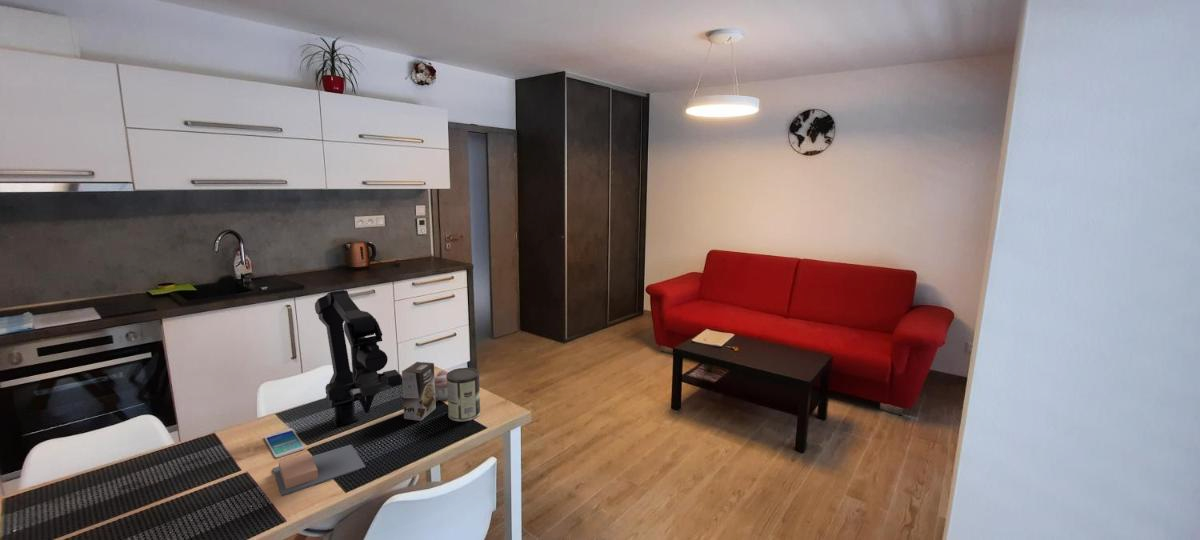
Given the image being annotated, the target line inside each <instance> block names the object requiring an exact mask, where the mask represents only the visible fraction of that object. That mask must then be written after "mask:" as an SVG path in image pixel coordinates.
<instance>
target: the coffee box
mask: <svg viewBox="0 0 1200 540" xmlns="http://www.w3.org/2000/svg"><path fill="white" fill-rule="evenodd" d="M401 376H402V384H401V385H402V398H403V399H402V401H403V402H402V404H403V418H404V419H405V420H413V421H419V422H421V421H423V420H424V419H425V418H427V416H428V415H430V414H431V413H433V411H435V410H436V408H437V407H436V399H435V379H434V377H435V363H433V362H428V361H427V362H424V361H423V362H422V361H416V362H415V363H413V364H412V365H410V366H408V367H406V368H405V369H404V370H402V371H401Z"/></svg>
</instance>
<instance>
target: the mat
mask: <svg viewBox="0 0 1200 540" xmlns="http://www.w3.org/2000/svg"><path fill="white" fill-rule="evenodd" d="M311 457H312V459H313V461H314V463H315V465H316V467H317V469H318V479H315V480H312V481H309V482H306V483H303V484H300V485H297V486H294V487H291V488H288V489H286V487H285V484H284V482H283V479H282V476H281V473H280V470H279V466H275V467H273V468H272V472H273V475H274V477H275V481H276V483H277V487H278V491H279V493H280V497H284V496H286V495H289V494H293V493H296V492H299V491H301V490H304V489H307V488H308V489H309V488H310V487H314V486H317V485H319V484H322V483H325V482H328V481H331V480H334V479H336V478H340V477H343V476H345V475H349V474H352V473H354V472H357V471H361V470H363V468H364V469H366V467H367V466H366V464H365V462H363V460H362V458H361V457H360V456H359V454H358V452H357V450H356V449H355V447H354V446H353V445H352V444H348V445H344V446H342V447H338V448H335V449H331V450H329V451H325V452H322V453H318V454H316V455H311ZM360 469H361V470H360Z"/></svg>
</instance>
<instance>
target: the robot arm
mask: <svg viewBox="0 0 1200 540" xmlns="http://www.w3.org/2000/svg"><path fill="white" fill-rule="evenodd" d="M349 294H350V293H349V291H348V290H344V289H341V290H339V289H338V290H333V291H330V292H328V293H326V295H324V296H322V297H319V298H317V300H316V302H315V303H314V311H315V313H316V315H317V316H318V319H319V321H320V322H321V323H322V324H323V325H324V326H325V327H326V328H325V329H326V334H327V340H328V345H329V352H330V357H331V366H332V370H333V374H332V376H331V378H330V380H329V383H326V386H325V387H324V388H325V394H326V396H325V398H326V403H327V405H328V406H329V407H330V408H331V409H333V412H334V416H332V417H331V420H332V422H333V423H334V425H335V426H336V427H340V426H344V425H349V424H352V423H355V422H358V421H360V419H359V416H357V414H356V406H355V402H358V401H359V402H360V404H361V407H362V409H363V411H364V413H365V414H367V413H370V410H371V407H372V404H373V401H374V398H375V397H376V395H377V394H380V393H381V392H382V388H385V387H386V386H390V387H393V388H394V387H396V386H400V385H403V384H402V374H400V372H399V371H398V370H397V369H391V370H386V371H382V372H381V373H379V371H381V370H383V369H384V368H385V367H386V365H387V364H388V361H389V360H388V355H387V353H386V352H385V351H384V350H382V349H380V345H378V343H381V342H383V332H382V329H381V326H380V325H379V322H378V321H377V319H376V318H375V317H374V316H373V315H372V313H370V312H368V311H365V310H360V308H359V307H358V306H357V304H356V303H355V302H354V300H353V299H352V298H351V297H350V295H349ZM346 339H347V341H348V343H349V346H350V357H351V358H350V359H351V366H350V360H349V355H348V348H347V341H346ZM351 369H352V370H351Z"/></svg>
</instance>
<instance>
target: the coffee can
mask: <svg viewBox="0 0 1200 540" xmlns="http://www.w3.org/2000/svg"><path fill="white" fill-rule="evenodd" d="M480 373H481V372H480V371H479V370H478V369H477V368H474V367H460V368H456V369H452V370H449V371H448V373H447V375H446V378H447V392H448V399H447V406H448V407H447V409H448V412H447V413H448V415H447V416H448V418H449V419H450V420H451V421H454V422H461V423H462V422H468V421H472V420H474V419H476V418H478V417H480V415H481V397H480V396H481V395H480V393H481V392H480V390H481V389H480Z"/></svg>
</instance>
